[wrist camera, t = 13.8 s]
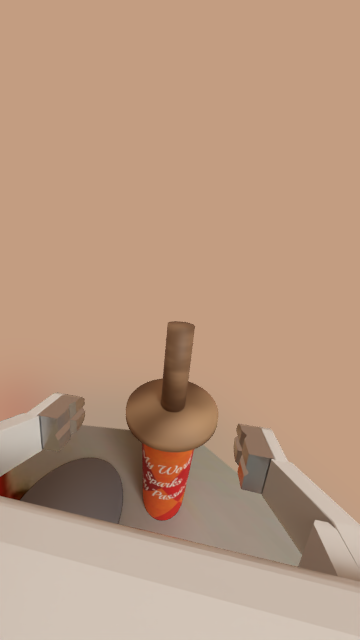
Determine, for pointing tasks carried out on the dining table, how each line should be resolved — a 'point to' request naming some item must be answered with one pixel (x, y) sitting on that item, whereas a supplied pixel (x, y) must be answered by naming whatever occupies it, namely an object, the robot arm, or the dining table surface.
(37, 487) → the charcoal mat
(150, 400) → the walnut lid
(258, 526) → the dining table surface
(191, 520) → the dining table surface
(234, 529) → the dining table surface
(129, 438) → the dining table surface
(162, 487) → the paper cup
